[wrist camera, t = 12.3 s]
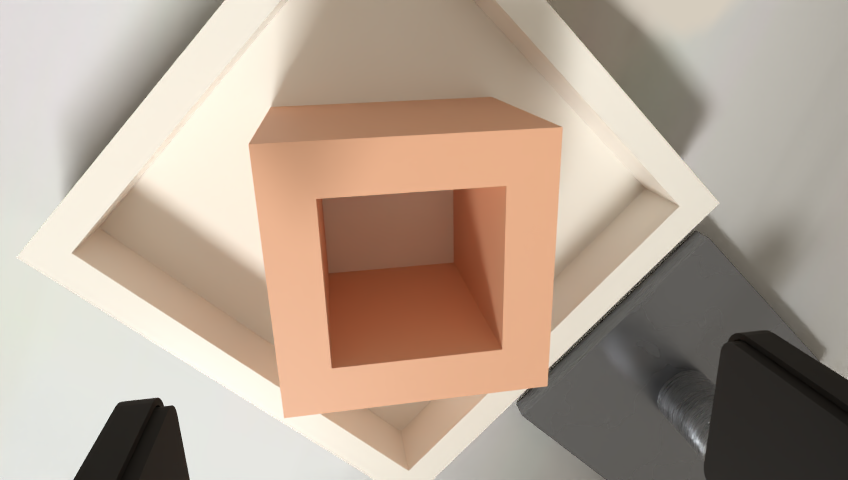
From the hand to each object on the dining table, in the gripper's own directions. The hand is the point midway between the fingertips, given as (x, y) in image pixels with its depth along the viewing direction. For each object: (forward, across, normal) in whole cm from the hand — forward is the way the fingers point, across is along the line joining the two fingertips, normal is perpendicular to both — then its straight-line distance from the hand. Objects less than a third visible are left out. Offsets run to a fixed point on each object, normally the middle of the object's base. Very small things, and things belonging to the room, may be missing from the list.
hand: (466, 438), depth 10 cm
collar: (+11, 0, -1) cm, 11 cm away
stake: (+12, -12, +8) cm, 19 cm away
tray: (+12, 0, -1) cm, 12 cm away
